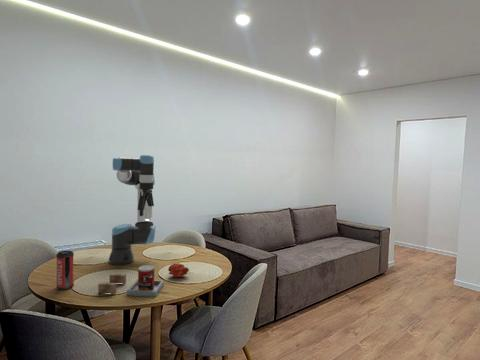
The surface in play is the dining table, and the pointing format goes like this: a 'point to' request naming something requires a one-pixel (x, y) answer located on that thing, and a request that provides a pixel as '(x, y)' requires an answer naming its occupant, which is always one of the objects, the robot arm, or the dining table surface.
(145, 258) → the dining table surface
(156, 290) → the tray
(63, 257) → the speaker
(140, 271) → the canned food
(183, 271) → the dragon fruit
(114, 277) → the tan block
